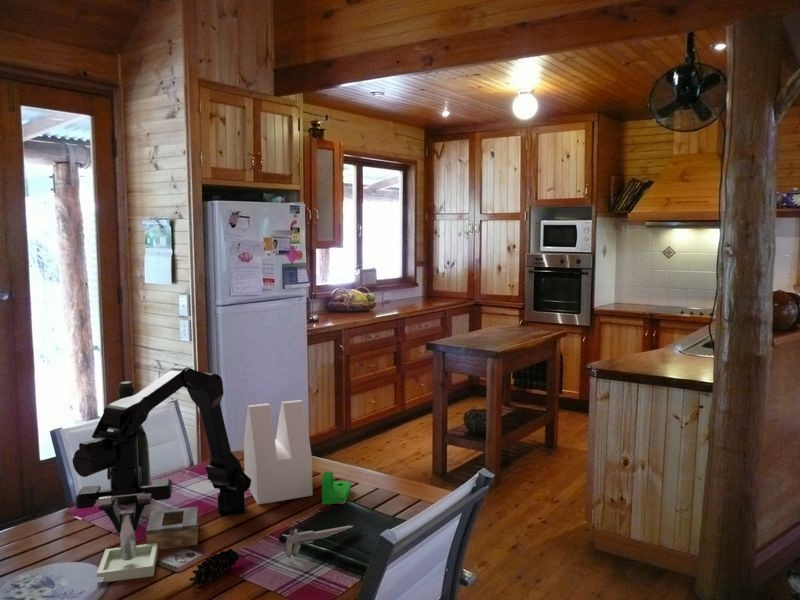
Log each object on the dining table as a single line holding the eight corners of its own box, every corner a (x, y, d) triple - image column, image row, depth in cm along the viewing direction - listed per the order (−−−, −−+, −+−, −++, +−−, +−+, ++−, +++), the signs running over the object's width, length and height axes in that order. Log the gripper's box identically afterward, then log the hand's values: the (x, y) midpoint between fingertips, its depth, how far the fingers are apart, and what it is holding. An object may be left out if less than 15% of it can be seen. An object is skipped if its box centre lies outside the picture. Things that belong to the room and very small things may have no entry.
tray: (158, 553, 148) (157, 542, 148) (153, 577, 138) (153, 565, 137) (106, 559, 145) (105, 549, 145) (97, 584, 135) (96, 573, 134)
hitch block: (198, 525, 162) (197, 506, 162) (197, 545, 152) (196, 524, 151) (151, 531, 159) (151, 511, 159) (147, 551, 149) (146, 530, 148)
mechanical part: (343, 505, 175) (343, 476, 174) (322, 504, 176) (321, 475, 175) (352, 488, 187) (352, 461, 186) (332, 487, 188) (331, 460, 187)
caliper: (288, 560, 144) (288, 533, 143) (285, 558, 145) (285, 531, 144) (358, 530, 158) (358, 505, 157) (355, 528, 159) (355, 504, 158)
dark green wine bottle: (152, 489, 187) (147, 376, 184) (150, 503, 177) (145, 384, 174) (112, 493, 183) (107, 379, 180) (108, 508, 173) (102, 387, 170)
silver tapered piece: (135, 562, 139) (133, 517, 138) (120, 565, 138) (118, 520, 137) (136, 549, 145) (134, 506, 144) (122, 551, 144) (120, 508, 143)
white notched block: (244, 480, 193) (242, 398, 191) (295, 473, 199) (293, 393, 197) (257, 504, 176) (255, 414, 173) (312, 495, 182) (310, 408, 179)
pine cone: (199, 568, 130) (180, 568, 132) (204, 593, 130) (184, 592, 132) (253, 534, 146) (235, 534, 148) (257, 556, 146) (239, 556, 148)
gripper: (172, 445, 149) (175, 511, 151) (84, 453, 144) (87, 520, 146) (168, 461, 139) (171, 531, 140) (73, 470, 134) (77, 543, 135)
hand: (127, 530), depth 141 cm, fingers closed on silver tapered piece, 3 cm apart
